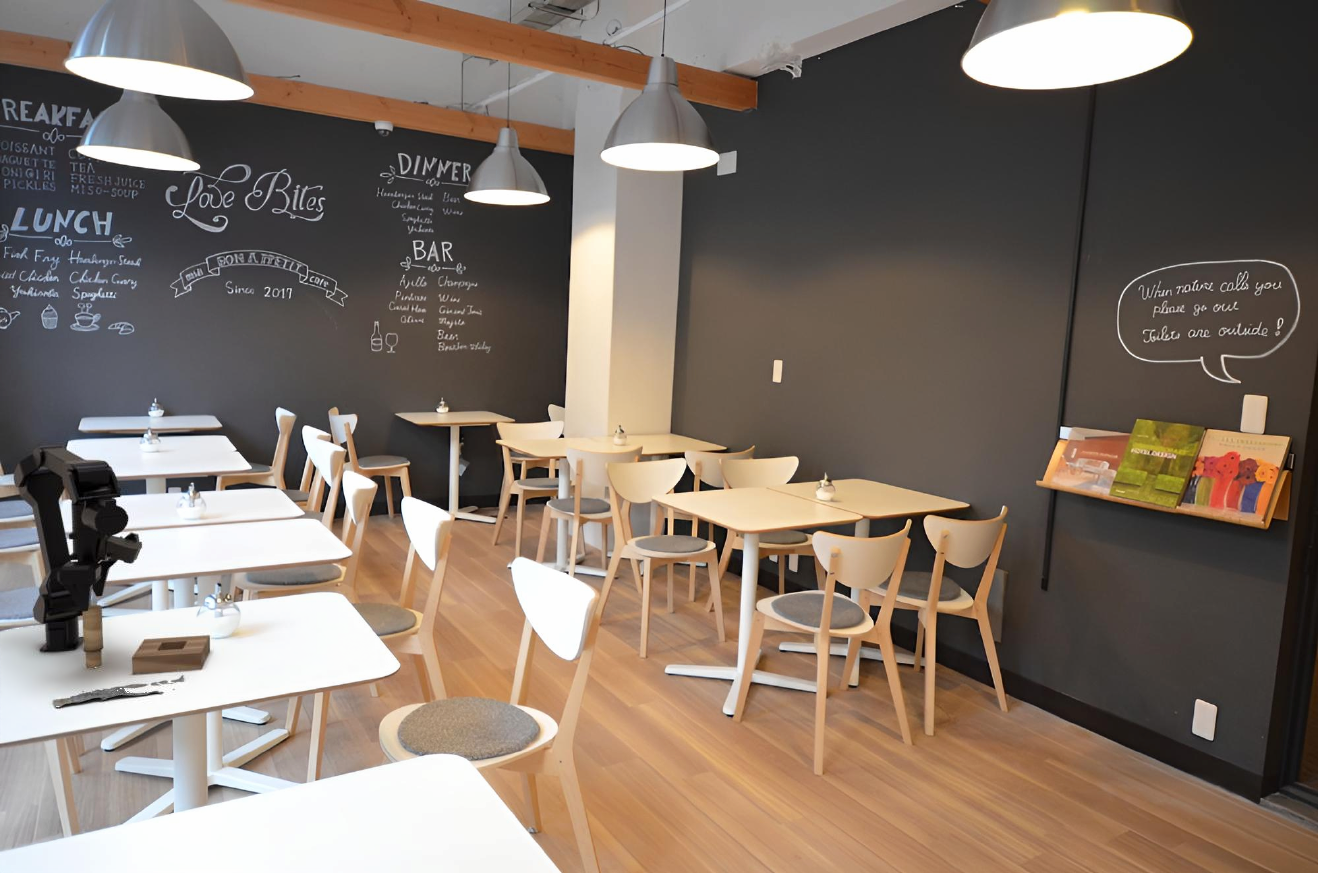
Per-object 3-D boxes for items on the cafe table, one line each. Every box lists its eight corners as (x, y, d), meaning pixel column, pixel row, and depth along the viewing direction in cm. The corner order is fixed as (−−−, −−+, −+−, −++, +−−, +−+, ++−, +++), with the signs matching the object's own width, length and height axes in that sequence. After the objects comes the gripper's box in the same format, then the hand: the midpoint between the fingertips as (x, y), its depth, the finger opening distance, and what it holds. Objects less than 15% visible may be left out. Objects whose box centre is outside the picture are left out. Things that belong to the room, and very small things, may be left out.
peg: (87, 663, 171) (84, 605, 169) (106, 662, 172) (104, 604, 170) (81, 670, 168) (79, 610, 166) (101, 668, 169) (99, 609, 167)
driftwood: (48, 713, 151) (48, 702, 150) (54, 698, 156) (54, 687, 156) (183, 696, 160) (183, 685, 160) (183, 682, 166) (183, 672, 166)
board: (145, 655, 176) (144, 639, 176) (210, 651, 180) (209, 635, 179) (132, 674, 167) (131, 657, 166) (201, 669, 170) (201, 652, 170)
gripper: (124, 536, 160) (126, 617, 162) (148, 514, 177) (150, 587, 179) (54, 538, 156) (57, 620, 158) (86, 515, 174) (88, 589, 176)
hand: (92, 603), depth 168 cm, fingers open, 9 cm apart
